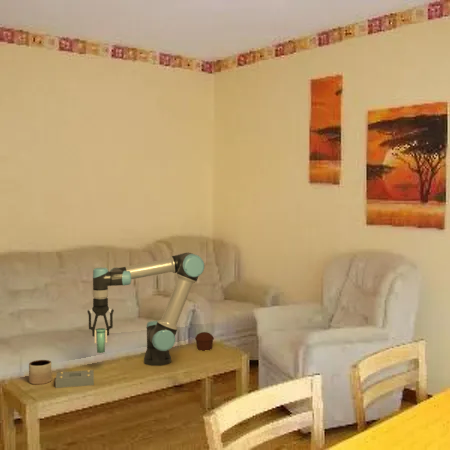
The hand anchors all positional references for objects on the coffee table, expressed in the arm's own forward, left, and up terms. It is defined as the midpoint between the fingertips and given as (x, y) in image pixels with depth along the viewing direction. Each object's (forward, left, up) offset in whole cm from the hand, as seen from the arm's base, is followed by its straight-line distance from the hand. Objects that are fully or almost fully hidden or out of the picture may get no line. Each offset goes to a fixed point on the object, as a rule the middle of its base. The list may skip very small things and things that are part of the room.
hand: (100, 342), depth 299 cm
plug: (0, 0, -5) cm, 5 cm away
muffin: (-62, -37, -17) cm, 74 cm away
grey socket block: (+13, +11, -17) cm, 24 cm away
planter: (+30, +5, -17) cm, 35 cm away
